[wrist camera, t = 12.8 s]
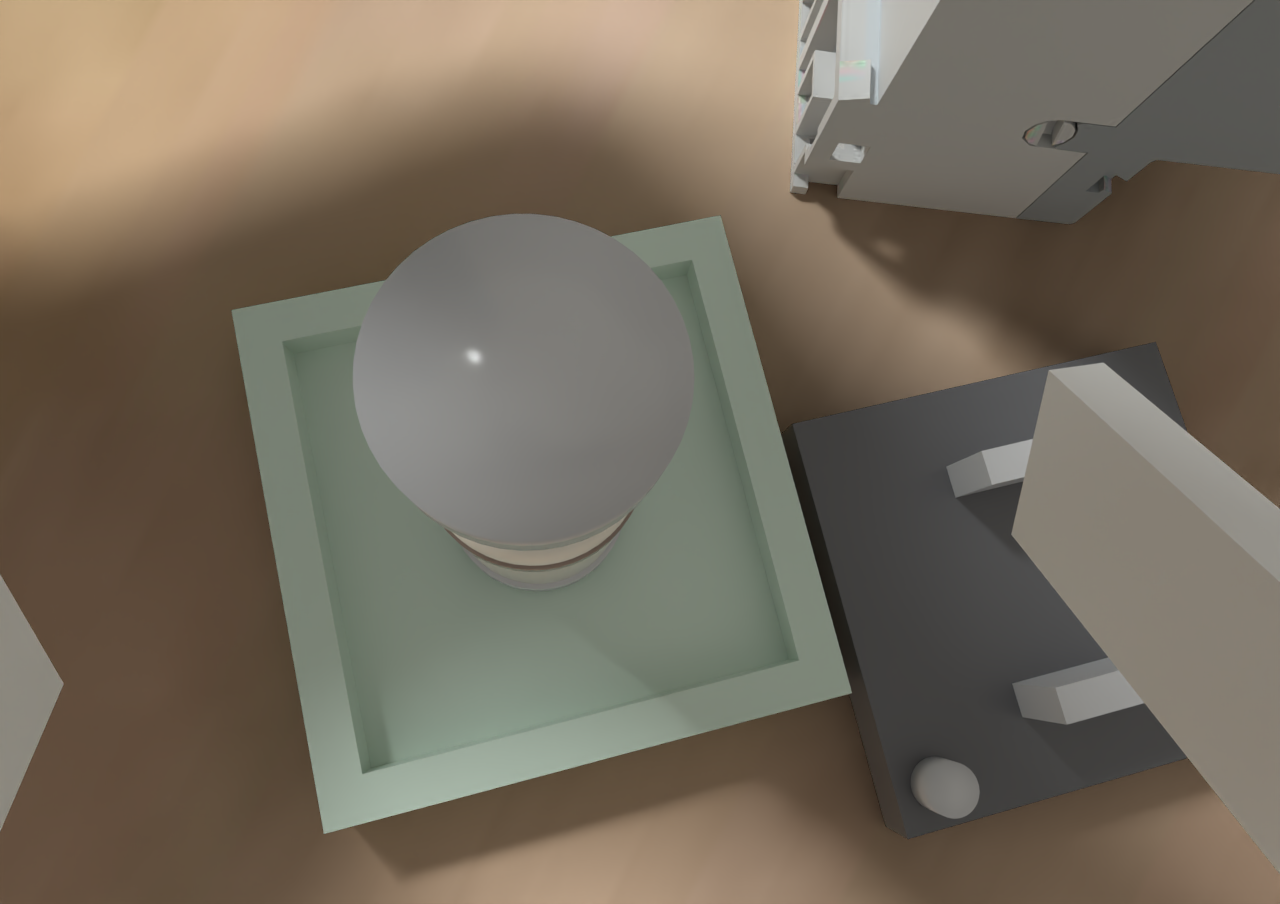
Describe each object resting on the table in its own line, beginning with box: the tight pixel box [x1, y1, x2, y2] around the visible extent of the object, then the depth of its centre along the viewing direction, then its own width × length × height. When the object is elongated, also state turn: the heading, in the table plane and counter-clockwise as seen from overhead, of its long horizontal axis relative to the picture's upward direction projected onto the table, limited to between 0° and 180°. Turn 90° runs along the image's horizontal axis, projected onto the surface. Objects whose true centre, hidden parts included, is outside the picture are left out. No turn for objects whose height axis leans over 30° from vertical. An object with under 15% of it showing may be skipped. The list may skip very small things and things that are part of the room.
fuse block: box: [781, 342, 1188, 839], centre depth 23 cm, size 10×10×4 cm
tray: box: [231, 215, 852, 834], centre depth 23 cm, size 12×12×2 cm
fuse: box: [353, 214, 694, 592], centre depth 17 cm, size 4×4×12 cm
